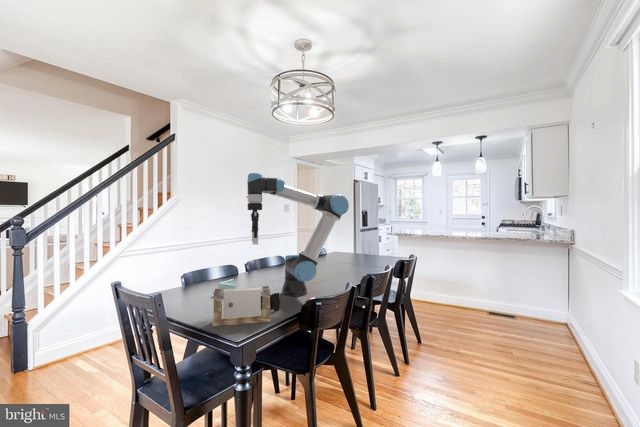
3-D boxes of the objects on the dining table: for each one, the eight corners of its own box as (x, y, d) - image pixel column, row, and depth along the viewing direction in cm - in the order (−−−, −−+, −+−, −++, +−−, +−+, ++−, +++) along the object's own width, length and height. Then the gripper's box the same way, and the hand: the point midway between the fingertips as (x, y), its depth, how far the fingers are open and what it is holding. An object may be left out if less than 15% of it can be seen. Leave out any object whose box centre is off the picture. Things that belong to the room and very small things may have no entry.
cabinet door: (266, 312, 142) (267, 287, 142) (267, 316, 138) (267, 289, 138) (217, 316, 137) (217, 289, 137) (216, 320, 133) (216, 292, 133)
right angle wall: (234, 298, 176) (234, 285, 176) (218, 295, 181) (218, 283, 181) (248, 293, 187) (248, 281, 187) (232, 291, 192) (232, 279, 192)
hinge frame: (270, 317, 144) (270, 285, 144) (271, 321, 138) (271, 289, 138) (213, 321, 138) (213, 288, 138) (212, 326, 132) (212, 292, 132)
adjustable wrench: (254, 308, 171) (281, 309, 153) (250, 309, 169) (276, 311, 152) (253, 293, 172) (279, 292, 155) (248, 294, 170) (274, 293, 153)
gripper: (247, 203, 173) (247, 240, 174) (247, 202, 149) (247, 245, 149) (260, 203, 175) (260, 240, 175) (263, 202, 151) (263, 245, 151)
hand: (254, 243), depth 162 cm, fingers open, 13 cm apart
